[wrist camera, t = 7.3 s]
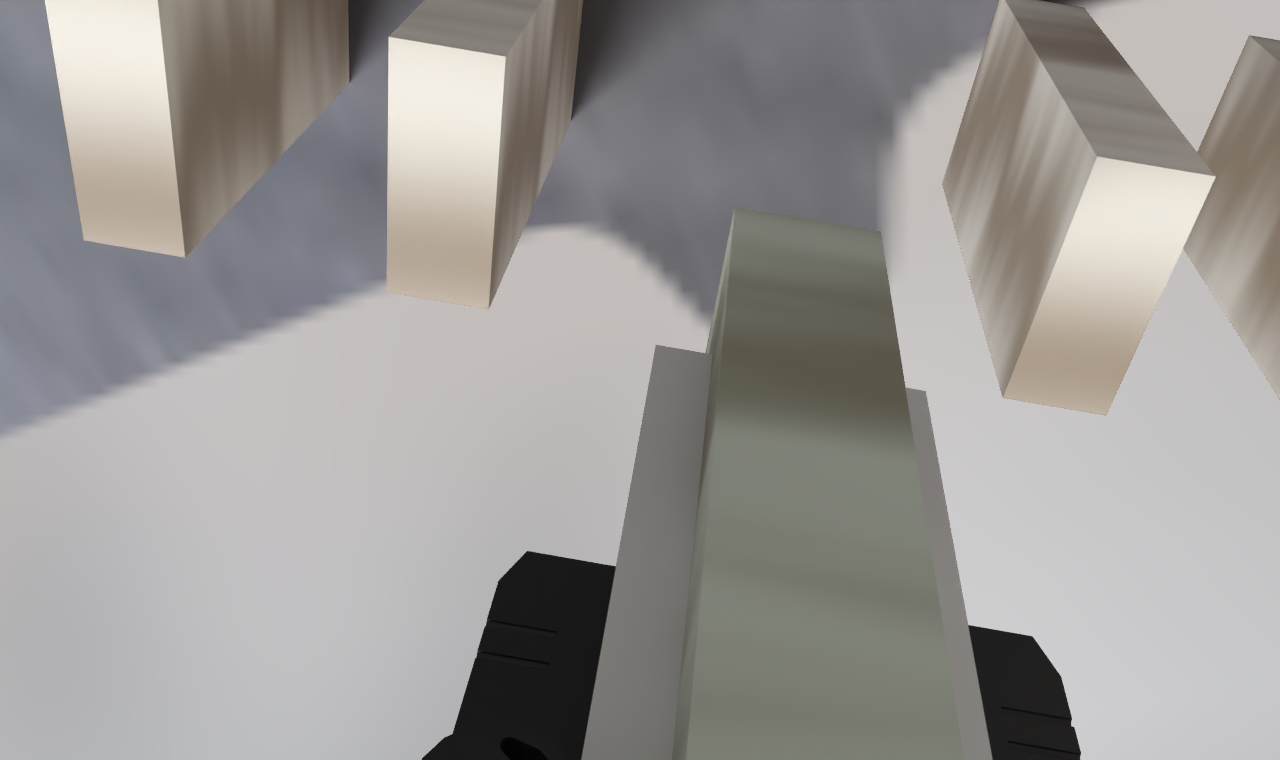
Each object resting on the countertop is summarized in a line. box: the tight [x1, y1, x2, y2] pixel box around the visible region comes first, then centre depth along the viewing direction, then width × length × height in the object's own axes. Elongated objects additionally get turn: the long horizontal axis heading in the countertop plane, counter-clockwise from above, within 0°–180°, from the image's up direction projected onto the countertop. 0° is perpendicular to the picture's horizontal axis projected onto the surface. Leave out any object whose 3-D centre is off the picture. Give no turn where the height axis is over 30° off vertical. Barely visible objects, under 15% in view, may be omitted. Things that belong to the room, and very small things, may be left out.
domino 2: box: [387, 0, 583, 310], centre depth 25 cm, size 5×2×10 cm, turn 172°
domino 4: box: [942, 0, 1216, 416], centre depth 24 cm, size 5×2×10 cm, turn 172°
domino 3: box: [672, 207, 964, 760], centre depth 13 cm, size 5×2×10 cm, turn 172°
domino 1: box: [45, 0, 349, 257], centre depth 25 cm, size 5×2×10 cm, turn 172°
